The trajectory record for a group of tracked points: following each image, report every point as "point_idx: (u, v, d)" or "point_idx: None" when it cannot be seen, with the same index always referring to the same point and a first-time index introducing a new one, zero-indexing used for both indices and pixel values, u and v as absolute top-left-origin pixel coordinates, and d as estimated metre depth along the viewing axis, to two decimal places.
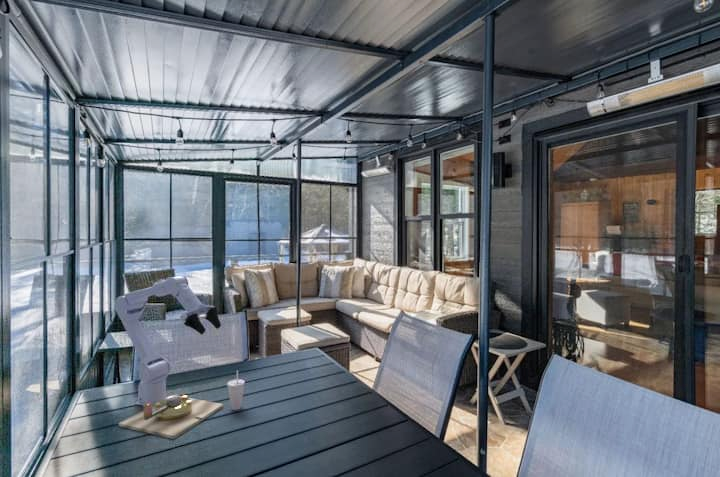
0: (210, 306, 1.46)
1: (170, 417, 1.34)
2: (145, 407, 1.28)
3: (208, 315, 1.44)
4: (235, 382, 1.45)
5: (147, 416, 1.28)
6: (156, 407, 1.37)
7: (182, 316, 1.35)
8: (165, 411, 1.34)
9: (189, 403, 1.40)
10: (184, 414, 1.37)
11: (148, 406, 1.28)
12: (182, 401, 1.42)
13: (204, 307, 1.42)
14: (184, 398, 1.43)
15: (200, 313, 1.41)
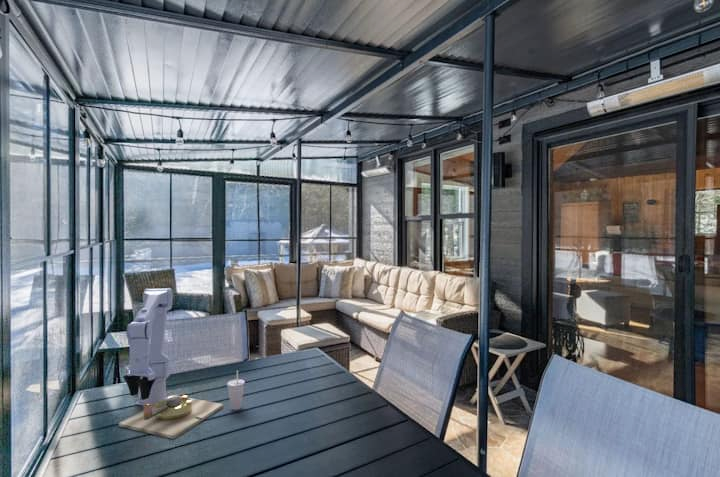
0: (145, 375, 1.27)
1: (170, 417, 1.34)
2: (145, 407, 1.28)
3: None
4: (235, 382, 1.45)
5: (147, 416, 1.28)
6: (156, 407, 1.37)
7: None
8: (165, 411, 1.34)
9: (189, 403, 1.40)
10: (184, 414, 1.37)
11: (148, 406, 1.28)
12: (182, 401, 1.42)
13: None
14: (184, 398, 1.43)
15: None
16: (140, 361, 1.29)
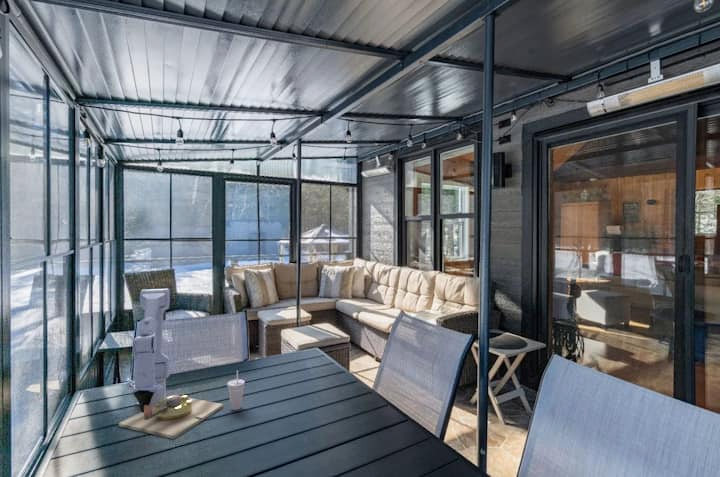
0: (153, 389, 1.27)
1: (170, 417, 1.34)
2: (145, 407, 1.28)
3: None
4: (235, 382, 1.45)
5: (147, 416, 1.28)
6: (156, 407, 1.37)
7: None
8: (165, 411, 1.34)
9: (189, 403, 1.40)
10: (184, 414, 1.37)
11: (148, 406, 1.28)
12: (182, 401, 1.42)
13: None
14: (184, 398, 1.43)
15: None
16: (147, 375, 1.28)
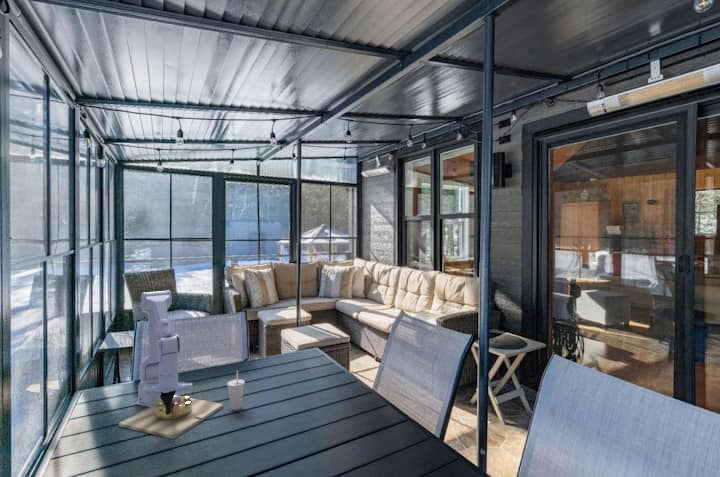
0: (185, 387, 1.29)
1: (185, 413, 1.37)
2: (176, 406, 1.29)
3: None
4: (235, 382, 1.45)
5: (178, 414, 1.29)
6: (162, 411, 1.34)
7: None
8: (179, 409, 1.36)
9: (189, 398, 1.44)
10: (191, 408, 1.41)
11: (178, 404, 1.30)
12: None
13: None
14: None
15: None
16: (176, 375, 1.28)
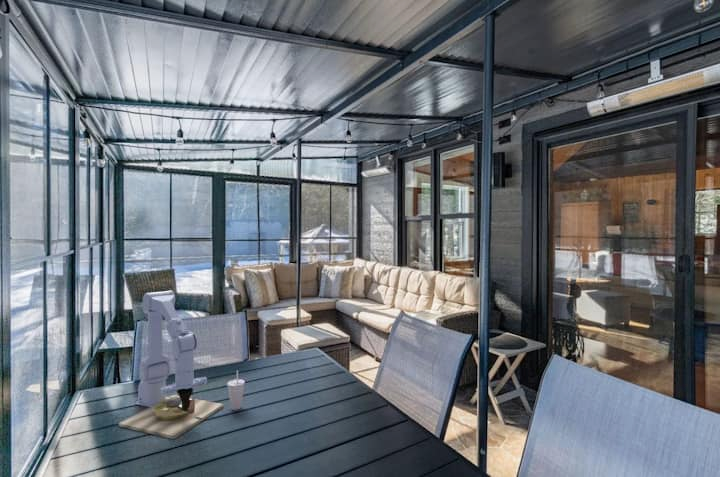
0: (202, 381, 1.34)
1: None
2: (193, 401, 1.33)
3: None
4: (235, 382, 1.45)
5: (194, 409, 1.33)
6: (169, 411, 1.34)
7: (161, 391, 1.26)
8: None
9: None
10: None
11: (194, 399, 1.33)
12: None
13: None
14: None
15: None
16: (193, 371, 1.32)
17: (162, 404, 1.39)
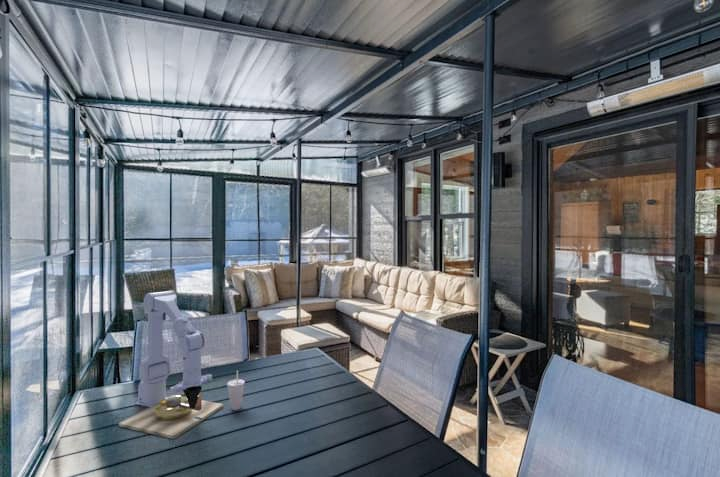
0: (208, 378, 1.37)
1: None
2: (201, 397, 1.35)
3: None
4: (235, 382, 1.45)
5: (201, 405, 1.36)
6: (173, 410, 1.34)
7: (172, 390, 1.27)
8: None
9: (180, 396, 1.45)
10: None
11: None
12: None
13: None
14: (165, 400, 1.41)
15: (193, 385, 1.33)
16: None
17: (161, 406, 1.38)
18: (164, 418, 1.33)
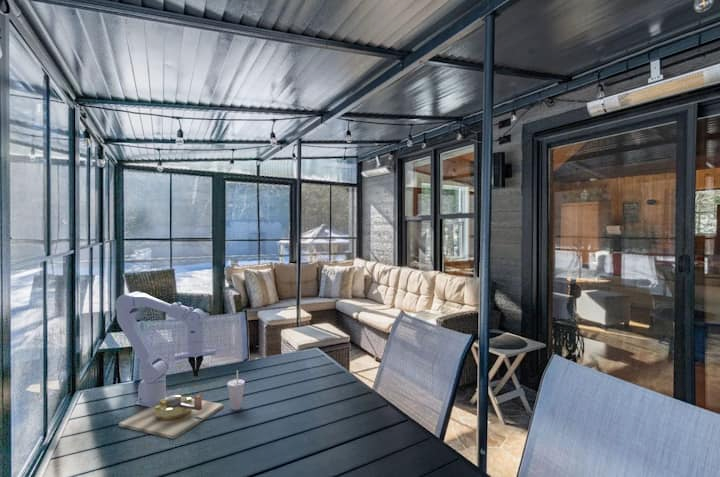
0: (210, 352, 1.51)
1: None
2: (201, 397, 1.35)
3: None
4: (235, 382, 1.45)
5: (201, 405, 1.36)
6: (174, 410, 1.34)
7: None
8: None
9: (180, 396, 1.45)
10: None
11: None
12: None
13: None
14: (165, 400, 1.41)
15: None
16: (202, 342, 1.50)
17: (161, 406, 1.38)
18: (164, 418, 1.33)
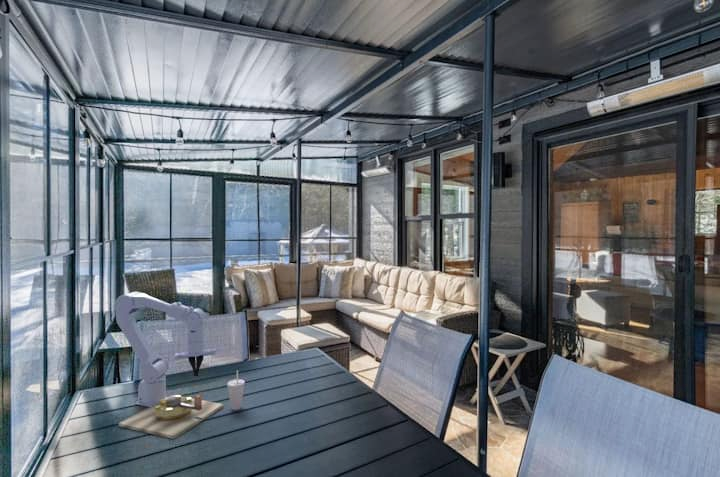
0: (210, 352, 1.52)
1: None
2: (201, 397, 1.35)
3: (196, 358, 1.51)
4: (235, 382, 1.45)
5: (201, 405, 1.36)
6: (174, 410, 1.34)
7: (175, 356, 1.47)
8: None
9: (180, 396, 1.45)
10: None
11: None
12: None
13: (200, 354, 1.49)
14: (165, 400, 1.41)
15: (196, 356, 1.51)
16: (202, 342, 1.51)
17: (161, 406, 1.38)
18: (164, 418, 1.33)
